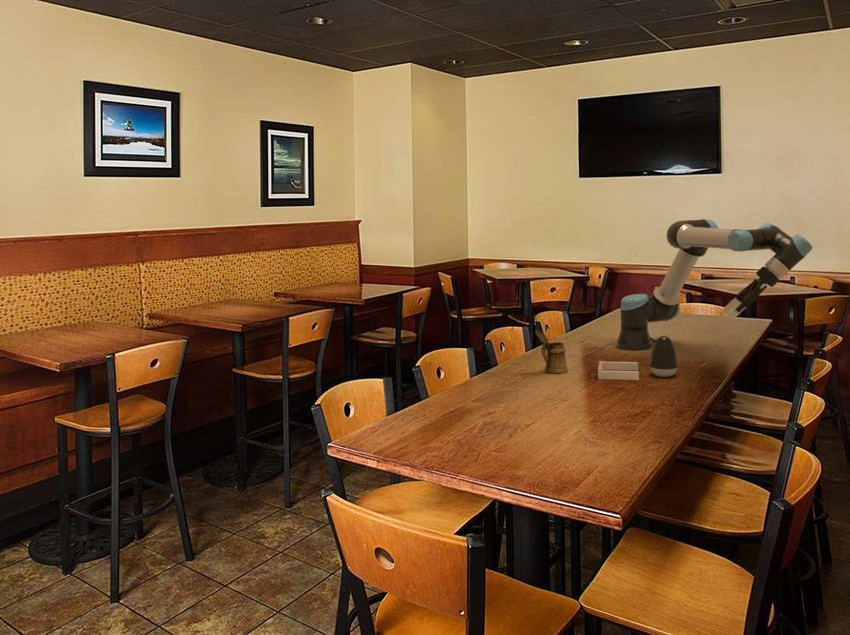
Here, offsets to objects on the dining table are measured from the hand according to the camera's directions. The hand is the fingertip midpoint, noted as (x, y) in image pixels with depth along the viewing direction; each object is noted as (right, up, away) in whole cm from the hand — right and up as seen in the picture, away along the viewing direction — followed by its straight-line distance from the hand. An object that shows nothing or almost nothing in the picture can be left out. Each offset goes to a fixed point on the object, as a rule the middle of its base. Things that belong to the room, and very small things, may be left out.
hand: (726, 315), depth 263 cm
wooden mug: (-61, -23, +21) cm, 68 cm away
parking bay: (-36, -23, +13) cm, 44 cm away
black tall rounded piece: (-20, -23, +9) cm, 32 cm away
